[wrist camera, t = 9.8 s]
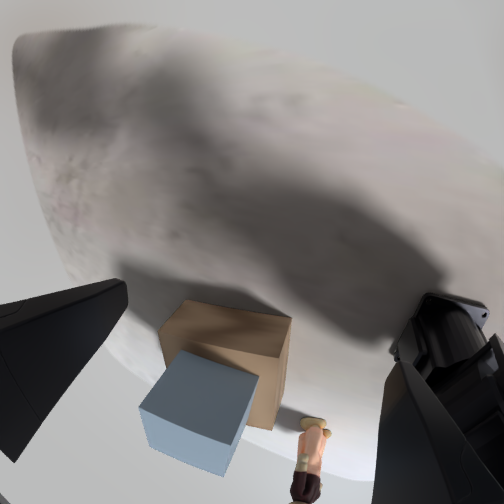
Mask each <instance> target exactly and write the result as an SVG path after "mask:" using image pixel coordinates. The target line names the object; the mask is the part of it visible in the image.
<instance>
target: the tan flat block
mask: <svg viewBox="0 0 504 504" xmlns="http://www.w3.org/2000/svg"><path fill="white" fill-rule="evenodd" d="M291 321H292V318H288V317H282V316H275V315H269V314H263V313H257V312H251V311H245V310H239V309H234V308H228V307H223V306H217V305H212V304H207V303H201V302H196V301H191V300H185V301H184V302H183V303H182V305H181V306H180V307H179V308H178V309H177V310H176V311H175V312H174V313H173V315H172V316H171V317H170V318H169V319H168V320H167V321H166V322H165V323H164V325H163V326H162V327H161V328H160V329H159V330H158V335H159V340H160V344H161V348H162V353H163V357H164V361H165V365H166V369H167V368H168V366H169V365H170V364H171V362H172V361H173V360H174V358H175V357H176V356H177V354H178V353H179V352H180V350H184V351H186V352H189V353H191V354H194V355H197V356H199V357H202V358H205V359H208V360H210V361H213V362H216V363H219V364H222V365H225V366H228V367H231V368H234V369H237V370H240V371H243V372H246V373H249V374H253V375H256V376H259V380H258V384H257V388H256V391H255V395H254V399H253V402H252V406H251V410H250V413H249V417H248V420H247V423H246V425H248V426H252V427H257V428H261V429H266V430H271V431H272V429H273V426H274V423H275V419H276V416H277V413H278V410H279V406H280V403H281V400H282V396H283V393H284V386H285V378H286V369H287V360H288V351H289V341H290V331H291Z"/></svg>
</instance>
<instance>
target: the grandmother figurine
mask: <svg viewBox="0 0 504 504" xmlns="http://www.w3.org/2000/svg"><path fill="white" fill-rule="evenodd" d="M300 425H301V427H302V428H303V429H304V430H306V432H305V433H302V434H300V436H299V441H298V453H297V464H296V468H295V471H294V475H293V483H292V485H291V488H290V493H291V496H292V499H293V502H291V503H289V504H312V503H314V502H315V501H316V500H317V499H318V498H319V497H320V494H321V493H320V492H321V488H322V484H321V483H320V471H321V464H322V461H321V458H322V455H323V452H324V448H325V445H326V439H328V438H329V437H330V436H331V432H330V431H329V430H322V429H323V428H324V427H325V426H326V421H325V420H323V419H317V418H310V417H307V418H303V419H301V421H300Z"/></svg>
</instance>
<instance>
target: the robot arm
mask: <svg viewBox="0 0 504 504" xmlns="http://www.w3.org/2000/svg"><path fill="white" fill-rule="evenodd" d="M427 299H431V300H430V301H429V302H426V301H427ZM127 306H128V294H127V285H126V283H125V282H124V281H122V280H120V279H117V278H113V279H109V280H105V281H101V282H96V283H92V284H88V285H84V286H79V287H75V288H71V289H67V290H63V291H58V292H54V293H50V294H46V295H42V296H38V297H33V298H29V299H25V300H20V301H17V302H12V303H7V304H2V305H0V450H1V451H2V452H3V453H4V454H5V455H6V456H7V457H8V458H9V459H10V460H11V461H12V462H13V463H15V462H16V461H17V460H18V458H19V456H20V455H21V453H22V452H23V450H24V449H25V447H26V446H27V444H28V443H29V441H30V440H31V439H32V437H33V436H34V434H35V433H36V431H37V430H38V429H39V427H40V426H41V424H42V422H43V421H44V420H45V418H46V417H47V416H48V414H49V413H50V411H51V410H52V409H53V407H54V406H55V405H56V403H57V402H58V401H59V399H60V398H61V397H62V395H63V394H64V393H65V391H66V390H67V389H68V387H69V386H70V385H71V383H72V382H73V381H74V379H75V378H76V377H77V375H78V374H79V373H80V372H81V370H82V369H83V368H84V366H85V365H86V364H87V363H88V361H89V360H90V359H91V358H92V356H93V355H94V354H95V352H96V351H97V350H98V349H99V347H100V346H101V345H102V344H103V342H104V341H105V340H106V338H107V337H108V335H109V334H110V332H111V331H112V329H113V328H114V326H115V325H116V323H117V322H118V320H119V319H120V317H121V316H122V314H123V313H124V311H125V310H126V308H127ZM484 312H485V313H484ZM483 313H484V314H483ZM482 314H483V315H482ZM488 316H489V310H488V309H487V308H486V307H483V306H480V305H476V304H472V303H468V302H464V301H460V300H456V299H452V298H449V297H445V296H441V295H437V294H433V293H426V294H425V295H424V296H423V297H422V299H421V302H420V304H419V306H418V308H417V310H416V312H415V315H414V317H412V318H411V319H410V320H409V322H408V324H407V326H406V328H405V330H404V332H403V334H402V336H401V338H400V340H399V342H398V348H397V350H396V352H395V353H394V361H395V362H397V363H396V364H395V366H394V367H393V369H392V371H391V372H390V374H389V376H388V377H387V379H386V382H385V386H384V394H383V402H382V409H381V415H380V422H379V431H378V447H377V460H376V470H375V480H374V489H373V496H372V503H371V504H504V343H503V342H502V341H501V339H500V338H499V337H498V336H497V334H496V333H495V334H494V335H493V336H492V337H491V338H490V339H489V341H488V342H487V340H486V338H485V336H484V334H483V332H482V330H481V329H482V327H483V326H484V324H485V322H486V320H487V318H488ZM398 356H400V357H398ZM0 504H10V503H9V502H8V501H7V500H6V499H5V498H4V497H3V496H2V495H1V494H0Z"/></svg>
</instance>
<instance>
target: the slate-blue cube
mask: <svg viewBox="0 0 504 504" xmlns="http://www.w3.org/2000/svg"><path fill="white" fill-rule="evenodd" d="M258 380H259V376H256V375H253V374H249V373H246V372H243V371H240V370H237V369H234V368H231V367H228V366H225V365H222V364H219V363H216V362H213V361H210V360H208V359H205V358H202V357H199V356H197V355H194V354H191V353H189V352H186V351H184V350H180V352H179V353H178V354H177V356H176V357H175V358H174V360H173V361H172V362H171V364H170V365H169V366H168V368H167V369H166V370H165V372H164V373H163V375H162V376H161V377H160V379H159V380H158V381H157V383H156V384H155V385H154V387H153V388H152V389H151V391H150V392H149V393H148V395H147V396H146V397H145V399H144V400H143V402H142V403H141V404H140V406H139V411H140V415H141V419H142V422H143V426H144V429H145V433H146V436H147V440H148V443H149V446H150V447H151V448H153V449H155V450H158V451H160V452H162V453H164V454H166V455H169V456H171V457H173V458H175V459H177V460H180V461H182V462H184V463H187V464H189V465H192V466H194V467H197V468H199V469H202V470H205V471H207V472H210V473H213V474H216V475H218V476H221V477H224V475H225V473H226V470H227V468H228V466H229V464H230V461H231V459H232V456H233V454H234V452H235V449H236V447H237V444H238V442H239V440H240V437H241V435H242V433H243V430H244V428H245V425H246V423H247V420H248V417H249V413H250V410H251V406H252V402H253V399H254V395H255V391H256V388H257V384H258Z"/></svg>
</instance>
